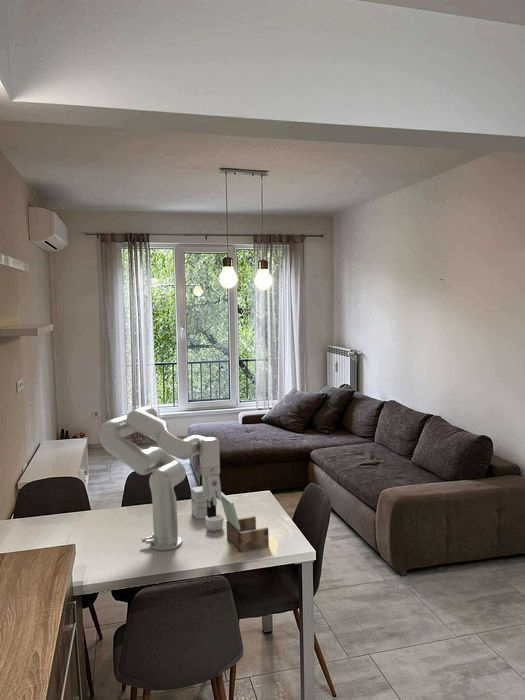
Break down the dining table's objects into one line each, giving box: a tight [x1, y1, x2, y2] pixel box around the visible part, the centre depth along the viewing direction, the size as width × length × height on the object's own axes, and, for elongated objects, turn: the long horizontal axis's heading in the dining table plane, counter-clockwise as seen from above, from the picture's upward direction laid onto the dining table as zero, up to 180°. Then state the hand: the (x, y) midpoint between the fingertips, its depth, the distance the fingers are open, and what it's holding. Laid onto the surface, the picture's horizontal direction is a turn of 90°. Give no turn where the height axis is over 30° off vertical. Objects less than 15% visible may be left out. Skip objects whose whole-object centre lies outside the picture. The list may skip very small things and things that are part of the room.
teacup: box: [204, 513, 225, 532], centre depth 236 cm, size 10×8×5 cm
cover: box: [220, 491, 241, 533], centre depth 216 cm, size 12×14×1 cm
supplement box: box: [190, 485, 207, 520], centre depth 251 cm, size 7×7×13 cm
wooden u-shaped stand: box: [225, 515, 270, 554], centre depth 220 cm, size 12×15×8 cm
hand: (211, 516), depth 212 cm, fingers closed
